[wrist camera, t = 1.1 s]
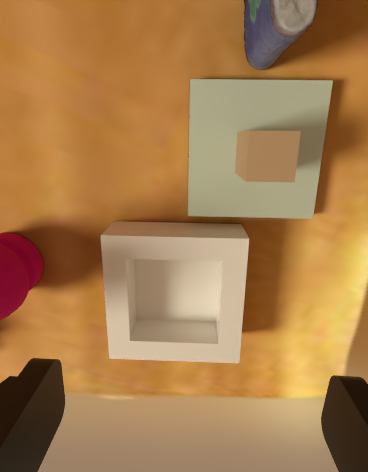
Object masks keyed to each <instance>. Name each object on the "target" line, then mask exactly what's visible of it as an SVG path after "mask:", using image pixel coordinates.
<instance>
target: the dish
mask: <svg viewBox="0 0 368 472" xmlns="http://www.w3.org/2000/svg"><path fill="white" fill-rule="evenodd" d="M100 236H101V250H102V264H103V278H104V291H105V305H106V319H107V333H108V346H109V358H110V359H137V360H165V361H192V362H219V363H239V359H240V346H241V334H242V322H243V310H244V298H245V285H246V273H247V261H248V249H249V237H248V236H247V234H246V232H245V230H244V228H243V226H242V224H219V223H174V222H130V221H114V222H113V223H112V224H111V225H110V226H109V227H108V228H107V229H106V230H105V231H104V232H103V233H102V234H101V235H100Z"/></svg>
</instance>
